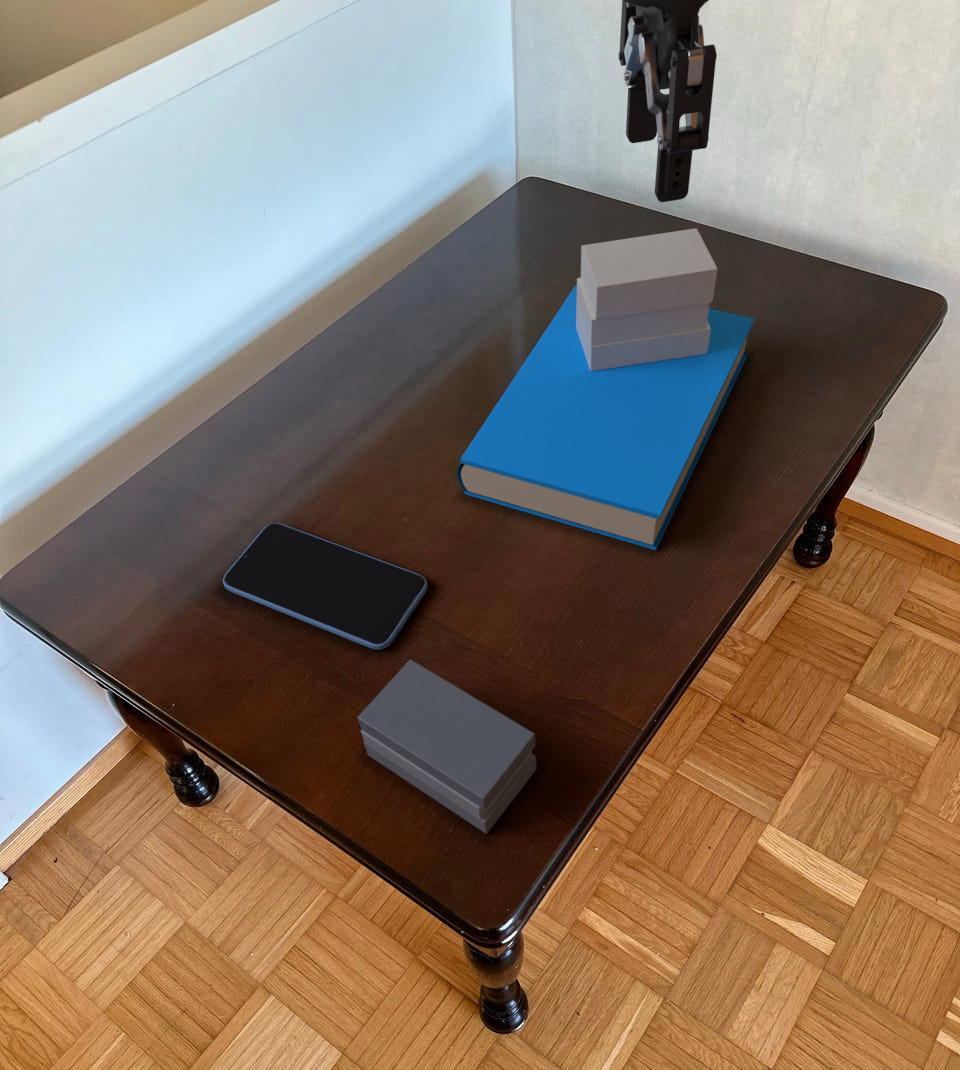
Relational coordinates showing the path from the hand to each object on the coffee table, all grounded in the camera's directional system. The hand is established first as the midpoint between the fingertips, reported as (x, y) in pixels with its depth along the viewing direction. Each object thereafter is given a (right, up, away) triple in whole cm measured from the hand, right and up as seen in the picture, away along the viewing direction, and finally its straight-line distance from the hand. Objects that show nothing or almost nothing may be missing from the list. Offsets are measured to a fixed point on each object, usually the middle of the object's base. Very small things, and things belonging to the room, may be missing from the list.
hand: (655, 167), depth 68 cm
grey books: (-15, -42, -6) cm, 45 cm away
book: (-2, -16, +13) cm, 20 cm away
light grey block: (+1, -6, +8) cm, 10 cm away
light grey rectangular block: (+1, -9, +12) cm, 15 cm away
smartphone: (-25, -30, +4) cm, 39 cm away
